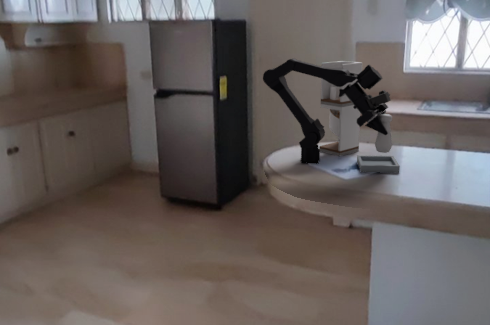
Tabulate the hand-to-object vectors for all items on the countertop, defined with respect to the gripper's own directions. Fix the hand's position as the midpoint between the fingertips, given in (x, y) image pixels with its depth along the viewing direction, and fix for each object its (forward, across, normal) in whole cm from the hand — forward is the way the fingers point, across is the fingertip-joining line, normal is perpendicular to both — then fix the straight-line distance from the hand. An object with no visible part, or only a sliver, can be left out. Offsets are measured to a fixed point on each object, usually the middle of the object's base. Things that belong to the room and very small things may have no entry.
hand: (388, 133), depth 174 cm
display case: (-7, +17, +26) cm, 32 cm away
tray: (+7, +2, +12) cm, 14 cm away
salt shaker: (+4, 0, +6) cm, 7 cm away
